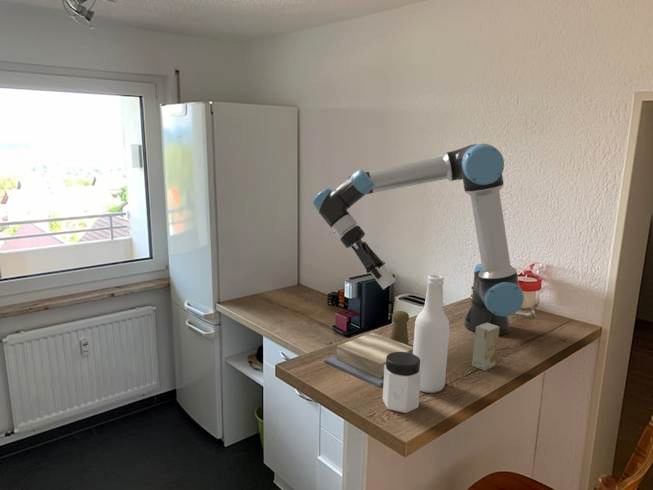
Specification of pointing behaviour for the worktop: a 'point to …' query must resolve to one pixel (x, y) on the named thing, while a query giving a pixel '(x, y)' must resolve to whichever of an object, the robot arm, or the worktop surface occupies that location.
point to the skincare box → (485, 346)
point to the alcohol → (432, 338)
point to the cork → (400, 327)
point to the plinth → (366, 356)
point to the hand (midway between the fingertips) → (390, 285)
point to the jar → (401, 381)
